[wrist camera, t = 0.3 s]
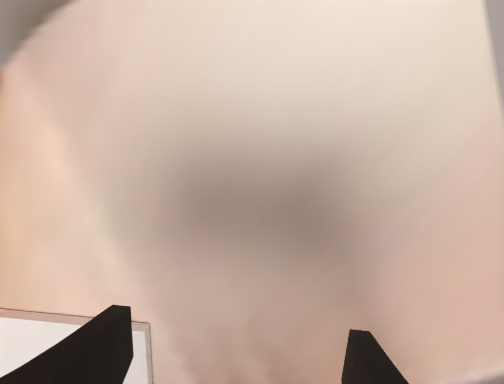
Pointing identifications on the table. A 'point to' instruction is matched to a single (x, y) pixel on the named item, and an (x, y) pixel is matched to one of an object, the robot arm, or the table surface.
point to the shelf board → (53, 331)
